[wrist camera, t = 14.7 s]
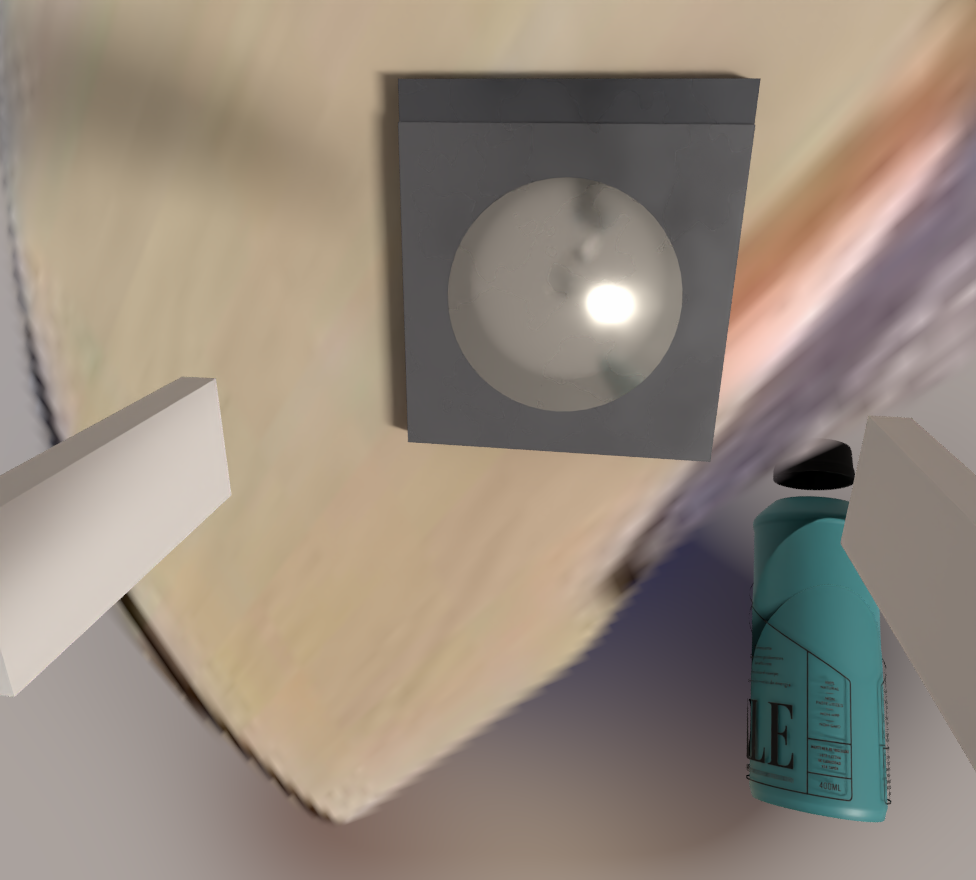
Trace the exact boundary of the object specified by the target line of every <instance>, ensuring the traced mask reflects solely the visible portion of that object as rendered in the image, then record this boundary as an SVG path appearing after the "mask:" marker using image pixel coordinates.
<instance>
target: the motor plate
mask: <svg viewBox="0 0 976 880" xmlns="http://www.w3.org/2000/svg"><path fill="white" fill-rule="evenodd" d="M759 86H760V79H398V91H399V122H398V132H399V164H400V196H401V228H402V260H403V292H404V324H405V357H406V389H407V421H408V442H416V443H431V444H446V445H462V446H477V447H492V448H508V449H523V450H538V451H553V452H569V453H584V454H599V455H614V456H630V457H645V458H660V459H675V460H691V461H706V462H710V460H711V452H712V445H713V437H714V430H715V422H716V415H717V407H718V400H719V392H720V385H721V377H722V370H723V362H724V355H725V347H726V340H727V333H728V325H729V318H730V310H731V303H732V295H733V288H734V280H735V273H736V265H737V258H738V250H739V243H740V235H741V228H742V220H743V213H744V205H745V198H746V190H747V183H748V175H749V168H750V160H751V153H752V145H753V138H754V131H755V125H754V123H755V116H756V108H757V101H758V93H759Z"/></svg>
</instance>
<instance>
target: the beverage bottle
mask: <svg viewBox="0 0 976 880" xmlns="http://www.w3.org/2000/svg"><path fill="white" fill-rule="evenodd" d="M854 479H855V471H854V468H853V459H852V451H851V448H850V446H849V445H847V444H845V443H843V442H840V441H837V440H834V441H832V442H830V443H828V444H826V445H824V446H822V447H820V448H819V449H817V450H815V451H813V452H811V453H809V454H807V455H805V456H803V457H801V458H799V459H797V460H795V461H793V462H791V463H789V464H787V465H785V466H784V467H782V468H780V469H778V470H776V471H774V472H773V481H774V482H775V483H776V484H778V485H781V486H784V487H788V488H793V489H801V490H834V489H841V488H845V487H849V486H851V485H853V484H854ZM848 507H849V501H846V500H841V499H836V498H829V497H817V496H796V497H787V498H782V499H779V500H776V501H775V502H773V503H772V504H771V505H769V506H768V507H767V508H766V509H764V510H763V511H762V512H761V513H760V514H759V515H758V516H757V517H756V518H755V519H754V522H753V529H754V583H753V584H754V586H753V602H752V605H753V606H751V608H752V630H751V631H752V657H751V658H752V667H751V669H752V670H751V699H749V701H750V706H751V724H750V730H751V731H750V740H749V743H748V716H747V758H748V759H750V764H748V766H747V770H748V767H750V769H749V772H750V775H747V776H750V778H748V777H747V776H746V778H747V779H749V780H750V788H751V793H752V796H753V797H754V798H756V799H758V800H761V801H764V802H767V803H770V804H773V805H777V806H781V807H784V808H789V809H793V810H797V811H802V812H807V813H811V814H816V815H822V816H827V817H834V818H840V819H846V820H854V821H865V822H882V821H884V820H885V815H886V812H887V808H888V806H887V805H888V804H891V801H890V800H889V799H887V789H888V787H887V782H888V783H890V780H888V781H887V778H886V771H889V770H890V768H888V769H887V768H886V750H885V749H889V747H888V748H885V723H884V698H883V697H884V696H883V695H884V694H883V683H884V681H885V679H886V676H885V679H884V681H883V668H882V660H883V658H882V653H881V639H880V609H879V607H878V606H877V604H876V602H875V601H874V599H873V597H872V595H871V594H870V592H869V590H868V589H867V587H866V585H865V584H864V582H863V580H862V579H861V577H860V575H859V574H858V572H857V570H856V568H855V567H854V565H853V563H852V562H851V560H850V558H849V557H848V555H847V553H846V552H845V550H844V548H843V546H842V545H841V539H842V534H843V530H844V525H845V521H846V516H847V511H848ZM751 587H752V586H751ZM750 599H751V598H750ZM751 601H752V600H751ZM884 664H885V663H884ZM885 666H886V665H885ZM884 692H885V691H884ZM885 703H887V702H885ZM886 707H887V706H886ZM747 712H748V711H747ZM747 715H748V713H747ZM886 719H887V717H886ZM887 720H888V719H887ZM887 724H888V723H887ZM887 737H888V734H887ZM886 740H887V739H886ZM888 741H889V740H888ZM749 756H750V757H749ZM889 758H890V757H889V756H888V759H889ZM889 763H890V762H888V765H889ZM887 776H888V777H889V776H890V775H889V774H888V775H887ZM890 789H891V788H890ZM890 795H891V793H890V792H889V796H890ZM887 800H888V801H890V803H887Z"/></svg>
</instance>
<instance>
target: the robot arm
mask: <svg viewBox="0 0 976 880" xmlns="http://www.w3.org/2000/svg"><path fill="white" fill-rule="evenodd" d="M230 496H231V488H230V481H229V473H228V466H227V459H226V451H225V444H224V436H223V429H222V421H221V414H220V406H219V399H218V392H217V384H216V378H198V377H180V378H179V379H177V380H175V381H173V382H171V383H169V384H168V385H166V386H164V387H162V388H160V389H158V390H157V391H155V392H153V393H151V394H149V395H147V396H146V397H144V398H142V399H140V400H138V401H136V402H134V403H133V404H131V405H129V406H127V407H125V408H123V409H122V410H120V411H118V412H116V413H114V414H112V415H111V416H109V417H107V418H105V419H103V420H101V421H100V422H98V423H96V424H94V425H92V426H90V427H88V428H87V429H85V430H83V431H81V432H79V433H77V434H76V435H74V436H72V437H70V438H68V439H66V440H65V441H63V442H61V443H59V444H57V445H55V446H54V447H52V448H50V449H48V450H46V451H44V452H42V453H41V454H39V455H37V456H35V457H33V458H31V459H30V460H28V461H26V462H24V463H22V464H20V465H19V466H17V467H15V468H13V469H11V470H9V471H8V472H6V473H4V474H2V475H0V695H2V696H11V697H15V696H16V695H17V694H18V693H19V692H20V691H21V690H22V689H24V688H25V687H26V686H27V685H28V684H29V683H30V682H31V681H32V680H33V679H34V678H35V677H37V676H38V675H39V674H40V673H41V672H42V671H43V670H44V669H45V668H46V667H47V666H48V665H49V664H50V663H51V662H53V661H54V660H55V659H56V658H57V657H58V656H59V655H60V654H61V653H62V652H63V651H64V650H65V649H67V647H69V646H70V645H71V644H72V643H73V642H74V641H75V640H76V639H77V638H78V637H79V636H81V635H82V634H83V633H84V631H86V630H87V629H88V628H89V627H90V626H91V625H92V624H93V623H94V622H96V621H97V620H98V619H99V618H100V617H101V616H102V615H103V614H104V613H105V612H106V611H107V610H108V609H110V608H111V607H112V606H113V605H114V604H115V603H116V602H117V601H118V600H119V599H120V598H121V597H122V596H123V595H125V594H126V593H127V592H128V591H129V590H130V589H131V588H132V587H133V586H134V585H135V584H136V583H137V582H139V581H140V580H141V579H142V578H143V577H144V576H145V575H146V574H147V573H148V572H149V571H150V570H151V569H152V568H154V567H155V566H156V565H157V564H158V563H159V562H160V561H161V560H162V559H163V558H164V557H165V556H166V555H168V554H169V553H170V552H171V551H172V550H173V549H174V548H175V547H176V546H177V545H178V544H179V543H180V542H181V541H183V540H184V539H185V538H186V537H187V536H188V535H189V534H190V533H191V532H192V531H193V530H194V529H195V528H197V527H198V526H199V525H200V524H201V523H202V522H203V521H204V520H205V519H206V518H207V517H208V516H209V515H210V514H212V513H213V512H214V511H215V510H216V509H217V508H218V507H219V506H220V505H221V504H222V503H223V502H224V501H225V500H227V499H228V498H229V497H230ZM841 545H842V546H843V548H844V550H845V552H846V553H847V555H848V557H849V558H850V560H851V562H852V563H853V565H854V567H855V568H856V570H857V572H858V574H859V575H860V577H861V579H862V580H863V582H864V584H865V585H866V587H867V589H868V590H869V592H870V594H871V595H872V597H873V599H874V601H875V602H876V604H877V606H878V607H879V609H880V611H881V612H882V614H883V616H884V617H885V619H886V621H887V622H888V624H889V626H890V628H891V629H892V631H893V632H894V634H895V636H896V638H897V639H898V641H899V643H900V644H901V646H902V648H903V650H904V651H905V653H906V655H907V656H908V658H909V660H910V661H911V663H912V665H913V666H914V668H915V670H916V671H917V673H918V675H919V677H920V678H921V680H922V682H923V683H924V685H925V687H926V688H927V690H928V692H929V693H930V695H931V697H932V699H933V700H934V702H935V703H936V705H937V707H938V709H939V710H940V712H941V714H942V715H943V717H944V719H945V720H946V722H947V724H948V725H949V727H950V729H951V731H952V732H953V734H954V736H955V737H956V739H957V741H958V742H959V744H960V746H961V747H962V749H963V751H964V753H965V754H966V756H967V758H968V759H969V761H970V763H971V764H972V766H973V768H974V770H975V771H976V475H975V474H974V473H973V472H972V471H971V470H969V469H968V468H967V467H966V466H965V465H964V464H963V463H962V462H960V461H959V460H958V459H957V458H956V457H955V456H954V455H952V454H951V453H950V452H949V451H948V450H947V449H946V448H945V447H944V446H942V445H941V444H940V443H939V442H938V441H937V440H936V439H935V438H933V437H932V436H931V435H930V434H929V433H928V432H927V431H925V430H924V429H923V428H922V427H921V426H920V425H919V424H918V423H917V422H915V421H914V420H913V419H912V418H902V417H885V416H868V419H867V424H866V429H865V433H864V438H863V443H862V447H861V452H860V456H859V461H858V465H857V470H856V475H855V479H854V484H853V488H852V493H851V498H850V502H849V507H848V511H847V516H846V521H845V525H844V530H843V534H842V539H841Z"/></svg>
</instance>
